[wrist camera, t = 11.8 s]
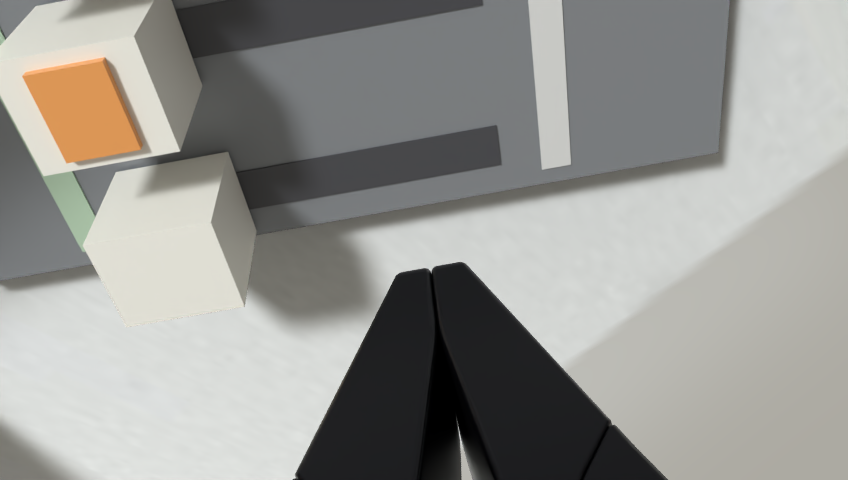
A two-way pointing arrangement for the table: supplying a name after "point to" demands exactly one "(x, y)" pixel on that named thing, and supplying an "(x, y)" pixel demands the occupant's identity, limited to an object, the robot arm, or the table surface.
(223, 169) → the plain ivory cube
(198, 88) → the orange patched ivory cube
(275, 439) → the table surface
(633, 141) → the panel
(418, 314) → the robot arm
